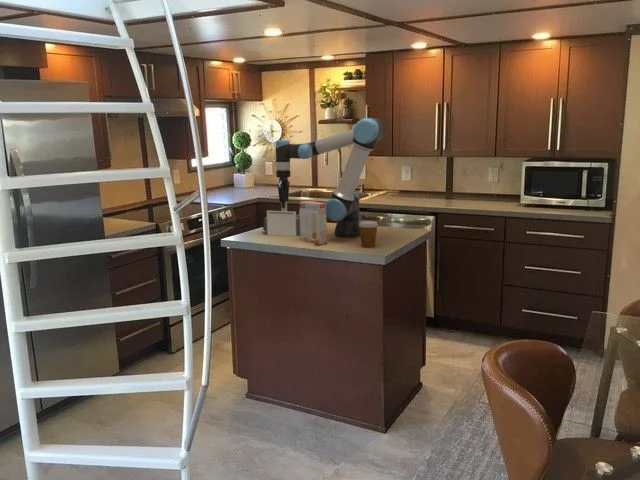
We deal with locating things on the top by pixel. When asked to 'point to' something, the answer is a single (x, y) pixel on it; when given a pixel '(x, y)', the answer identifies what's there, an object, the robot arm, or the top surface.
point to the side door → (281, 223)
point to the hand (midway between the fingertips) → (284, 213)
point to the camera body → (296, 225)
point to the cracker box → (313, 222)
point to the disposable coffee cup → (368, 233)
